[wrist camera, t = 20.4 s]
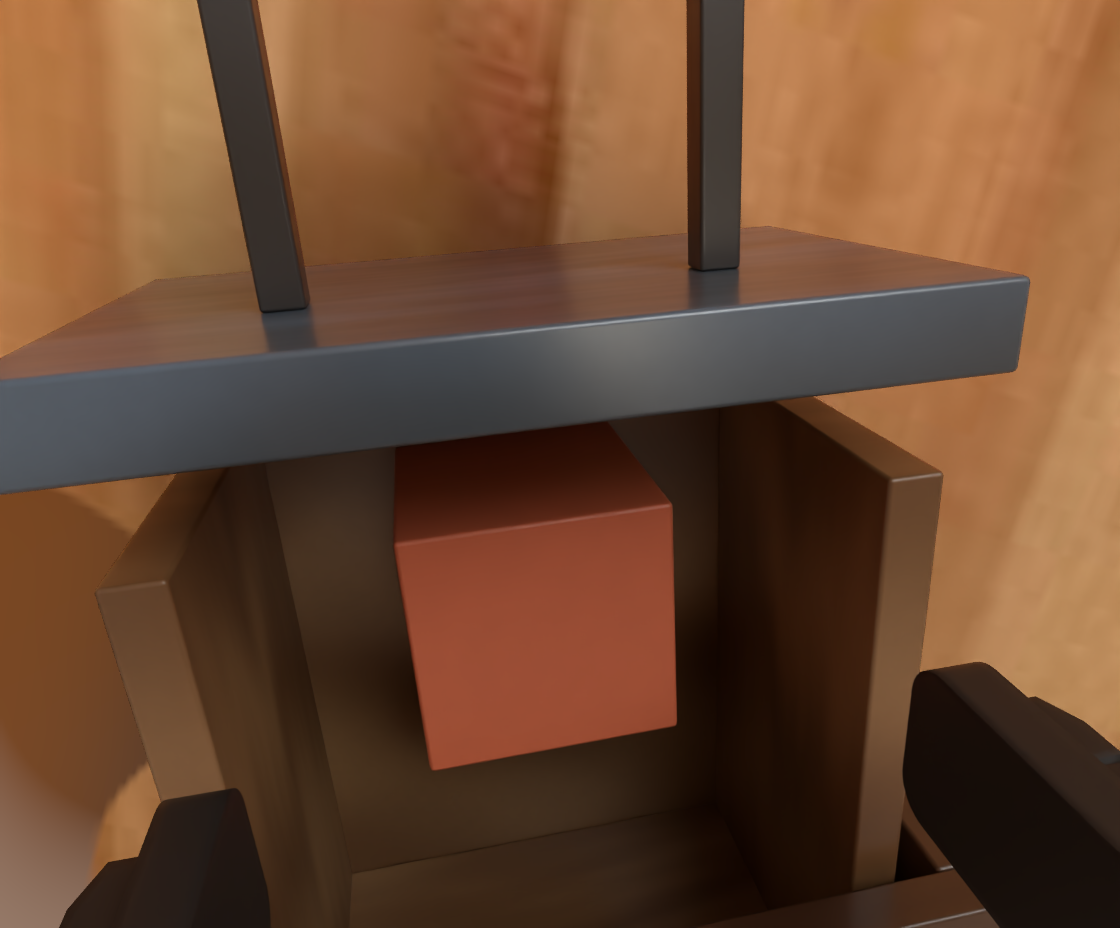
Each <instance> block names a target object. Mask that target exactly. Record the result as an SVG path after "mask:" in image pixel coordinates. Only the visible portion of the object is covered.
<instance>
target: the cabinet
mask: <svg viewBox="0 0 1120 928" xmlns="http://www.w3.org/2000/svg"><path fill="white" fill-rule="evenodd" d="M688 928H1000V927H999V926H998V925H997V924H996V922H995V921H994V920H993V918H992V917H991V916H990V914H989V913H988V912H987V911H986V909H985V908H984V907H983V905H982V904H981V903H980V901H979V900H978V899H977V898H976V896H975V895H974V894H973V892H972V891H971V890H970V888H969V887H968V886H967V885H966V883H965V882H964V881H963V879H962V878H961V877H960V875H959V874H958V873H957V872H956V870H955V869H954V868H953V866H952V865H951V864H950V862H949V861H948V860H947V859H946V857H945V856H944V855H943V853H942V852H941V851H940V849H939V848H938V847H937V846H936V844H935V843H934V842H933V840H932V839H931V838H930V836H929V835H928V834H927V833H926V831H925V830H924V829H923V827H922V826H921V825H920V823H919V822H918V820H917V819H916V817H915V815H914V813H913V811H912V809H911V807H910V804H909V802H908V799H907V796H906V793H905V797H904V805H903V814H902V822H901V830H900V839H899V847H898V855H897V863H896V872H895V880H894V882H893V883H889V884H884V885H880V886H875V887H871V888H866V889H862V890H857V891H852V892H848V893H843V894H839V895H834V896H830V897H825V898H821V899H816V900H811V901H807V902H802V903H798V904H793V905H789V906H784V907H779V908H775V909H770V910H766V911H761V912H757V913H752V914H748V915H743V916H738V917H734V918H729V919H725V920H720V921H716V922H711V923H706V924H702V925H697V926H693V927H688Z"/></svg>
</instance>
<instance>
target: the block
mask: <svg viewBox="0 0 1120 928" xmlns="http://www.w3.org/2000/svg"><path fill="white" fill-rule="evenodd" d="M393 549H394V555H395V561H396V567H397V573H398V579H399V585H400V591H401V597H402V603H403V609H404V615H405V621H406V627H407V633H408V639H409V645H410V651H411V657H412V663H413V669H414V675H415V681H416V687H417V693H418V700H419V706H420V712H421V718H422V724H423V730H424V736H425V742H426V748H427V754H428V760H429V766H430V768H431V770H432V771H438V770H443V769H449V768H454V767H459V766H465V765H470V764H476V763H481V762H486V761H492V760H497V759H502V758H508V757H513V756H518V755H524V754H529V753H535V752H540V751H545V750H551V749H556V748H561V747H567V746H572V745H577V744H583V743H588V742H594V741H599V740H604V739H610V738H615V737H620V736H626V735H631V734H636V733H642V732H647V731H652V730H658V729H663V728H669V727H674V726H676V724H677V699H676V652H675V604H674V557H673V510H672V504H671V502H670V501H669V500H668V498H667V497H666V496H665V494H664V493H663V492H662V491H661V489H660V488H659V487H658V485H657V484H656V483H655V482H654V480H653V479H652V478H651V477H650V475H649V474H648V473H647V471H646V470H645V469H644V468H643V466H642V465H641V464H640V462H639V461H638V460H637V459H636V457H635V456H634V455H633V453H632V452H631V451H630V450H629V448H628V447H627V446H626V444H625V443H624V442H623V441H622V439H621V438H620V437H619V435H618V434H617V433H616V432H615V430H614V429H613V428H612V426H611V425H610V424H609V423H608V422H607V421H606V422H598V423H589V424H581V425H573V426H565V427H556V428H548V429H540V430H532V431H523V432H515V433H507V434H499V435H491V436H484V437H476V438H468V439H460V440H452V441H445V442H437V443H429V444H421V445H413V446H406V447H398V448H396V449H395V472H394V526H393Z"/></svg>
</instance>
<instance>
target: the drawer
mask: <svg viewBox="0 0 1120 928" xmlns="http://www.w3.org/2000/svg"><path fill="white" fill-rule="evenodd" d="M197 3H198V8H199V13H200V18H201V23H202V28H203V33H204V38H205V43H206V48H207V53H208V58H209V63H210V68H211V73H212V78H213V82H214V87H215V92H216V97H217V102H218V107H219V112H220V117H221V122H222V127H223V132H224V137H225V142H226V147H227V152H228V157H229V162H230V167H231V172H232V177H233V182H234V187H235V192H236V196H237V201H238V206H239V211H240V216H241V221H242V226H243V231H244V236H245V241H246V246H247V251H248V256H249V261H250V266H251V271H249V272H238V273H226V274H215V275H203V276H192V277H181V278H169V279H158V280H154V281H152V282H150V283H148V284H146V285H144V286H142V287H140V288H138V289H136V290H134V291H132V292H130V293H128V294H126V295H124V296H122V297H120V298H118V299H116V300H114V301H112V302H110V303H108V304H106V305H104V306H102V307H100V308H98V309H96V310H94V311H92V312H90V313H88V314H87V315H85V316H83V317H81V318H79V319H77V320H75V321H73V322H71V323H69V324H67V325H65V326H63V327H61V328H59V329H57V330H55V331H53V332H51V333H49V334H47V335H45V336H43V337H41V338H39V339H37V340H35V341H33V342H31V343H29V344H27V345H25V346H23V347H21V348H19V349H18V350H16V351H14V352H12V353H10V354H8V355H6V356H4V357H2V358H0V495H4V494H12V493H19V492H29V491H36V490H45V489H53V488H62V487H70V486H78V485H86V484H94V483H103V482H111V481H119V480H127V479H136V478H144V477H152V476H160V475H169V474H176V475H175V477H174V478H173V480H172V481H171V483H170V484H169V485H168V487H167V488H166V490H165V491H164V493H163V494H162V495H161V497H160V498H159V500H158V501H157V503H156V504H155V505H154V507H153V508H152V510H151V511H150V512H149V514H148V515H147V517H146V518H145V520H144V521H143V522H142V524H141V525H140V527H139V528H138V530H137V531H136V532H135V534H134V535H133V537H132V538H131V540H130V541H129V542H128V544H127V545H126V547H125V548H124V549H123V551H122V552H121V554H120V555H119V557H118V558H117V560H116V561H115V562H114V564H113V565H112V567H111V568H110V570H109V571H108V573H107V574H106V575H105V577H104V578H103V580H102V581H101V582H100V584H99V585H98V587H97V588H96V589H95V596H96V599H97V602H98V605H99V608H100V612H101V615H102V618H103V621H104V624H105V627H106V631H107V634H108V637H109V640H110V643H111V646H112V649H113V652H114V656H115V659H116V662H117V665H118V668H119V671H120V675H121V678H122V681H123V684H124V687H125V690H126V693H127V697H128V699H129V703H130V706H131V709H132V712H133V715H134V719H135V721H136V725H137V728H138V731H139V734H140V737H141V740H142V744H143V747H144V750H145V753H146V756H147V759H148V762H149V766H150V769H151V772H152V775H153V778H154V781H155V784H156V788H157V791H158V794H159V797H160V800H161V802H162V801H164V800H167V799H173V798H179V797H184V796H190V795H196V794H202V793H208V792H213V791H219V790H225V789H231V788H237V789H238V790H239V791H240V792H241V794H242V796H243V799H244V802H245V806H246V809H247V813H248V817H249V821H250V824H251V828H252V832H253V836H254V839H255V843H256V847H257V851H258V854H259V858H260V862H261V866H262V869H263V873H264V877H265V881H266V884H267V889H268V894H269V901H270V914H271V928H688V927H693V926H697V925H702V924H706V923H711V922H716V921H720V920H725V919H729V918H734V917H738V916H743V915H748V914H752V913H757V912H761V911H766V910H770V909H775V908H779V907H784V906H789V905H793V904H798V903H802V902H807V901H811V900H816V899H821V898H825V897H830V896H834V895H839V894H843V893H848V892H852V891H857V890H862V889H866V888H871V887H875V886H880V885H884V884H889V883H893V882H894V880H895V872H896V863H897V855H898V847H899V839H900V830H901V822H902V814H903V805H904V797H905V789H904V784H903V776H902V768H903V759H904V750H905V742H906V733H907V725H908V717H909V708H910V700H911V692H912V685H913V682H914V679H915V677H916V676H917V675H918V674H919V673H920V665H921V657H922V648H923V640H924V632H925V624H926V615H927V607H928V599H929V590H930V582H931V574H932V566H933V557H934V549H935V541H936V533H937V524H938V516H939V508H940V500H941V491H942V483H943V473H942V472H941V471H940V470H938V469H936V468H935V467H933V466H931V465H929V464H928V463H926V462H924V461H923V460H921V459H919V458H917V457H916V456H914V455H912V454H911V453H909V452H907V451H905V450H904V449H902V448H900V447H899V446H897V445H895V444H893V443H892V442H890V441H888V440H887V439H885V438H883V437H881V436H880V435H878V434H876V433H875V432H873V431H871V430H870V429H868V428H866V427H864V426H863V425H861V424H859V423H858V422H856V421H854V420H852V419H851V418H849V417H847V416H846V415H844V414H842V413H840V412H839V411H837V410H835V409H834V408H832V407H830V406H828V405H827V404H825V403H823V402H822V401H820V400H818V399H816V398H815V397H813V396H820V395H829V394H837V393H845V392H853V391H861V390H870V389H878V388H886V387H894V386H903V385H911V384H919V383H927V382H936V381H944V380H952V379H960V378H969V377H977V376H985V375H993V374H1002V373H1010V372H1013V371H1015V370H1016V369H1017V367H1018V360H1019V354H1020V347H1021V340H1022V334H1023V327H1024V320H1025V314H1026V307H1027V300H1028V294H1029V287H1030V279H1029V278H1028V277H1027V276H1024V275H1020V274H1015V273H1010V272H1005V271H1000V270H994V269H989V268H984V267H979V266H974V265H968V264H963V263H958V262H953V261H948V260H942V259H937V258H932V257H927V256H922V255H916V254H911V253H906V252H901V251H896V250H890V249H885V248H880V247H875V246H869V245H864V244H859V243H854V242H849V241H843V240H838V239H833V238H828V237H823V236H817V235H812V234H807V233H802V232H797V231H791V230H786V229H781V228H776V227H771V226H764V227H753V228H741V229H740V217H741V161H742V106H743V50H744V0H687V173H688V233H684V234H673V235H661V236H650V237H638V238H627V239H615V240H604V241H593V242H581V243H570V244H558V245H547V246H535V247H524V248H512V249H501V250H490V251H478V252H467V253H455V254H444V255H432V256H421V257H409V258H398V259H387V260H375V261H364V262H352V263H341V264H329V265H318V266H306V267H305V266H304V260H303V254H302V249H301V243H300V237H299V232H298V226H297V221H296V215H295V209H294V204H293V198H292V192H291V187H290V181H289V175H288V170H287V164H286V159H285V153H284V147H283V142H282V136H281V130H280V125H279V119H278V114H277V108H276V102H275V97H274V91H273V85H272V80H271V74H270V68H269V63H268V57H267V52H266V46H265V40H264V35H263V29H262V23H261V18H260V12H259V6H258V1H257V0H197ZM606 421H607V422H608V423H609V424H610V425H611V426H612V428H613V429H614V430H615V432H616V433H617V434H618V435H619V437H620V438H621V439H622V441H623V442H624V443H625V444H626V446H627V447H628V448H629V450H630V451H631V452H632V453H633V455H634V456H635V457H636V459H637V460H638V461H639V462H640V464H641V465H642V466H643V468H644V469H645V470H646V471H647V473H648V474H649V475H650V477H651V478H652V479H653V480H654V482H655V483H656V484H657V485H658V487H659V488H660V489H661V491H662V492H663V493H664V494H665V496H666V497H667V498H668V500H669V501H670V502H671V504H672V510H673V557H674V604H675V652H676V699H677V724H676V726H674V727H669V728H663V729H658V730H652V731H647V732H642V733H636V734H631V735H626V736H620V737H615V738H610V739H604V740H599V741H594V742H588V743H583V744H577V745H572V746H567V747H561V748H556V749H551V750H545V751H540V752H535V753H529V754H524V755H518V756H513V757H508V758H502V759H497V760H492V761H486V762H481V763H476V764H470V765H465V766H459V767H454V768H449V769H443V770H438V771H432V770H431V768H430V766H429V760H428V754H427V748H426V742H425V736H424V730H423V724H422V718H421V712H420V706H419V700H418V693H417V687H416V681H415V675H414V669H413V663H412V657H411V651H410V645H409V639H408V633H407V627H406V621H405V615H404V609H403V603H402V597H401V591H400V585H399V579H398V573H397V567H396V561H395V555H394V549H393V526H394V472H395V449H396V448H398V447H406V446H413V445H421V444H429V443H437V442H445V441H452V440H460V439H468V438H476V437H484V436H491V435H499V434H507V433H515V432H523V431H532V430H540V429H548V428H556V427H565V426H573V425H581V424H589V423H598V422H606Z"/></svg>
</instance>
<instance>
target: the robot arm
mask: <svg viewBox="0 0 1120 928" xmlns="http://www.w3.org/2000/svg"><path fill="white" fill-rule="evenodd" d="M902 776H903V784H904V789H905V793H906V796H907V799H908V802H909V804H910V807H911V809H912V811H913V813H914V815H915V817H916V819H917V820H918V822H919V823H920V825H921V826H922V827H923V829H924V830H925V831H926V833H927V834H928V835H929V836H930V838H931V839H932V840H933V842H934V843H935V844H936V846H937V847H938V848H939V849H940V851H941V852H942V853H943V855H944V856H945V857H946V859H947V860H948V861H949V862H950V864H951V865H952V866H953V868H954V869H955V870H956V872H957V873H958V874H959V875H960V877H961V878H962V879H963V881H964V882H965V883H966V885H967V886H968V887H969V888H970V890H971V891H972V892H973V894H974V895H975V896H976V898H977V899H978V900H979V901H980V903H981V904H982V905H983V907H984V908H985V909H986V911H987V912H988V913H989V914H990V916H991V917H992V918H993V920H994V921H995V922H996V924H997V925H998V926H999V927H1000V928H1120V751H1119V750H1118V749H1117V748H1115V747H1114V746H1113V745H1112V744H1111V743H1109V742H1108V741H1107V740H1106V739H1105V738H1103V737H1102V736H1101V735H1100V734H1099V733H1097V732H1096V731H1095V730H1094V729H1093V728H1091V727H1090V726H1089V725H1088V724H1087V723H1085V722H1084V721H1082V720H1080V719H1078V718H1077V717H1075V716H1073V715H1071V714H1069V713H1067V712H1065V711H1063V710H1061V709H1059V708H1057V707H1055V706H1053V705H1051V704H1049V703H1047V702H1045V701H1043V700H1041V699H1039V698H1038V697H1036V696H1035V697H1030V698H1028V697H1026V696H1025V695H1024V694H1023V693H1022V692H1021V691H1020V690H1018V689H1017V688H1016V687H1015V686H1014V685H1013V684H1012V683H1010V682H1009V681H1008V680H1007V679H1006V678H1005V677H1003V676H1002V675H1001V674H1000V673H999V672H998V671H997V670H995V669H994V668H993V667H991V666H990V665H988V664H986V663H983V662H973V663H967V664H962V665H956V666H950V667H944V668H939V669H933V670H927V671H923V672H920V673H919V674H918V675H917V676H916V677H915V679H914V682H913V685H912V692H911V700H910V708H909V717H908V725H907V733H906V742H905V750H904V759H903V768H902ZM59 928H271V914H270V901H269V894H268V889H267V884H266V881H265V877H264V873H263V869H262V866H261V862H260V858H259V854H258V851H257V847H256V843H255V839H254V836H253V832H252V828H251V824H250V821H249V817H248V813H247V809H246V806H245V802H244V799H243V796H242V794H241V792H240V791H239V790H238V789H237V788H231V789H225V790H219V791H213V792H208V793H202V794H196V795H190V796H184V797H179V798H173V799H167V800H164V801H162V802H161V803H160V804H159V806H158V808H157V809H156V812H155V814H154V816H153V819H152V822H151V824H150V827H149V829H148V832H147V835H146V837H145V840H144V843H143V845H142V848H141V850H140V853H139V856H138V857H134V858H129V859H123V860H118V861H112V862H108V863H107V864H106V865H105V866H104V868H103V869H102V870H101V871H100V872H99V873H98V875H97V876H96V877H95V878H94V879H93V880H92V882H91V883H90V884H89V885H88V886H87V887H86V888H85V890H84V891H83V892H82V893H81V894H80V895H79V897H78V898H77V899H76V900H75V901H74V902H73V904H72V905H71V906H70V907H69V908H68V909H67V911H66V913H65V916H64V918H63V920H62V923H61V925H60V927H59Z"/></svg>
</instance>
